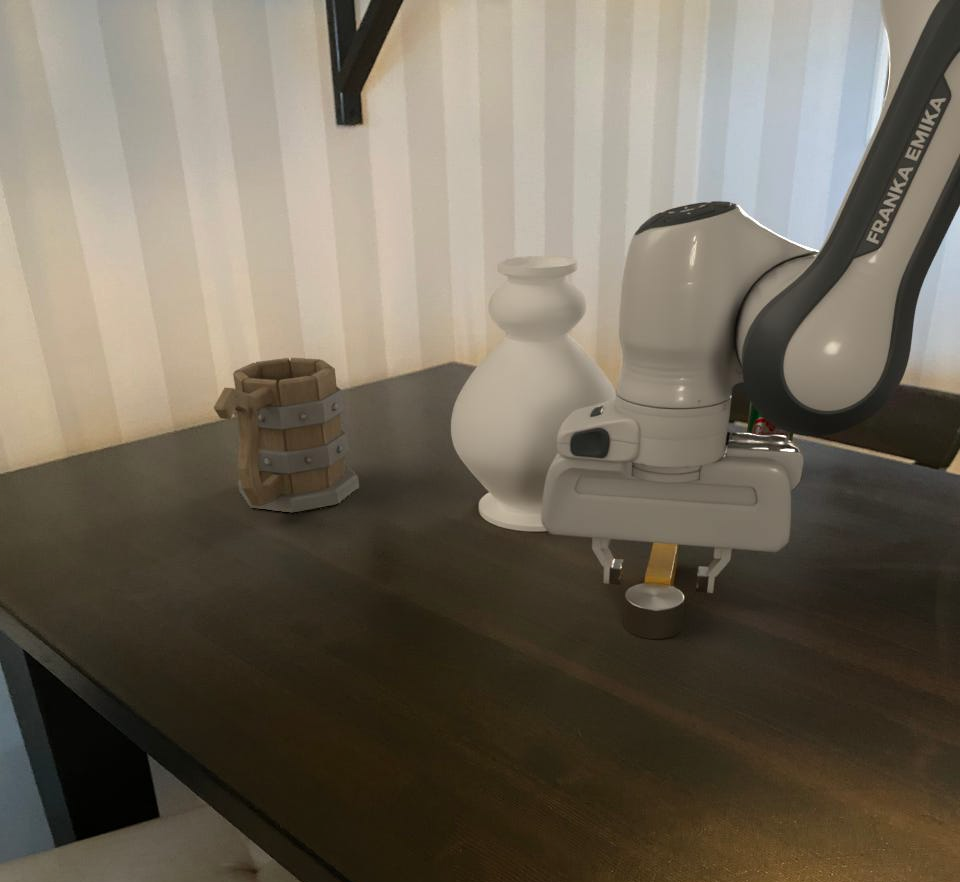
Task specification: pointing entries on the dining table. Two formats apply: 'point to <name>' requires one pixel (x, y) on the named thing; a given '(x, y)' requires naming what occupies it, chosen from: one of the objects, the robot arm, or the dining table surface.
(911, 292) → the robot arm
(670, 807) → the dining table surface
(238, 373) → the tankard
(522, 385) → the decorative vase
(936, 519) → the dining table surface
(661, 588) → the silver puck with tab
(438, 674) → the dining table surface
